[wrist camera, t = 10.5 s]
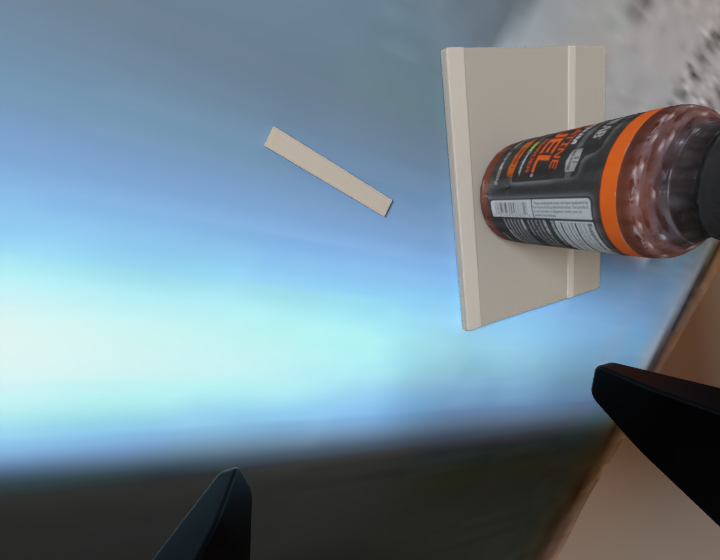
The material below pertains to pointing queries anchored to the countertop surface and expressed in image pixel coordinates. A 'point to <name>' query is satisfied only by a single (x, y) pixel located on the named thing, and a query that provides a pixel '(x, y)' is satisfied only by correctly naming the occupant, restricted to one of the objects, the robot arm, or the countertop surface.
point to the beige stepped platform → (487, 138)
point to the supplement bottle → (612, 185)
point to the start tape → (326, 171)
